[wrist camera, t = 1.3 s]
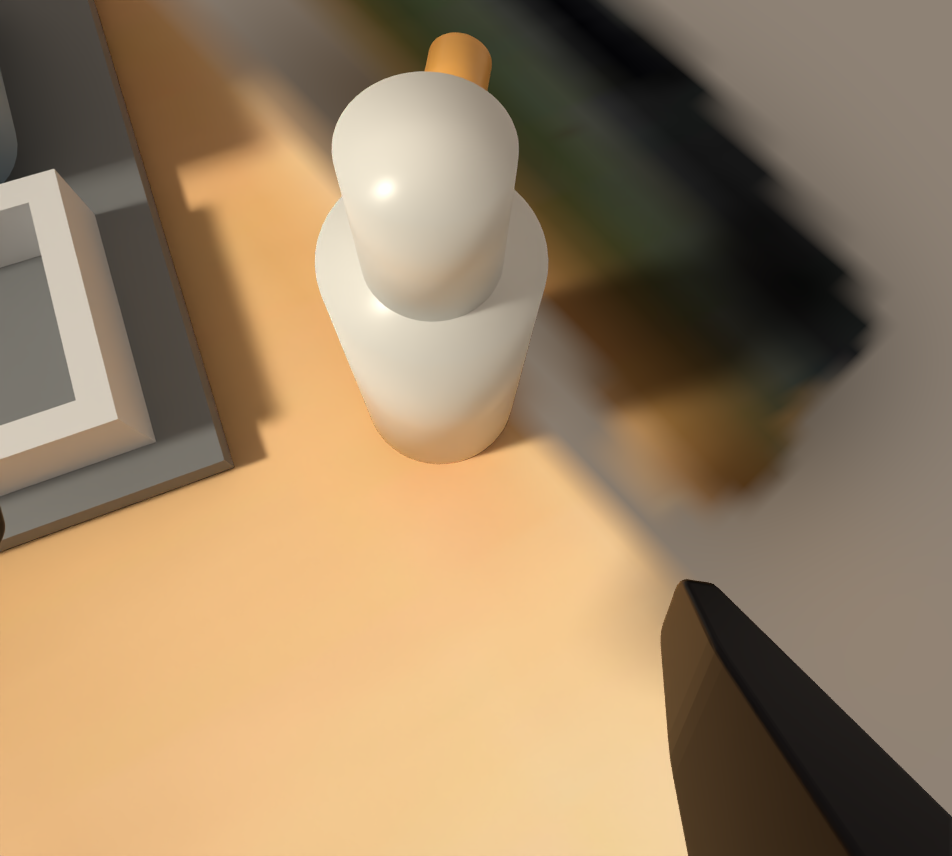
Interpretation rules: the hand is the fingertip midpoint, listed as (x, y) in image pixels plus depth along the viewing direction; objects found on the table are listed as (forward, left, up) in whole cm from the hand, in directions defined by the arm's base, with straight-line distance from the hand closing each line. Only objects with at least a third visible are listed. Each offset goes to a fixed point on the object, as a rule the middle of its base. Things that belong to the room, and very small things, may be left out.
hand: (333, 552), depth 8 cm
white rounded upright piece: (+6, -3, -13) cm, 15 cm away
